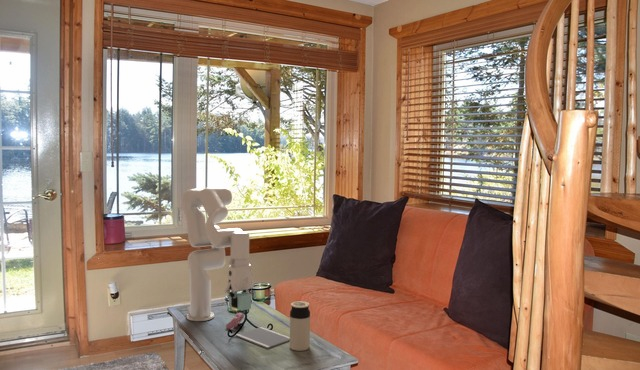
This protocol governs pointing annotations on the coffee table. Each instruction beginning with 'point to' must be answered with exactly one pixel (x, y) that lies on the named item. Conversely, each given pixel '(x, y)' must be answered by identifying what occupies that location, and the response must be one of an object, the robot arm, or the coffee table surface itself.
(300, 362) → the coffee table surface
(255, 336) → the mat
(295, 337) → the travel mug
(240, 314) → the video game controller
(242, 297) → the card deck block
